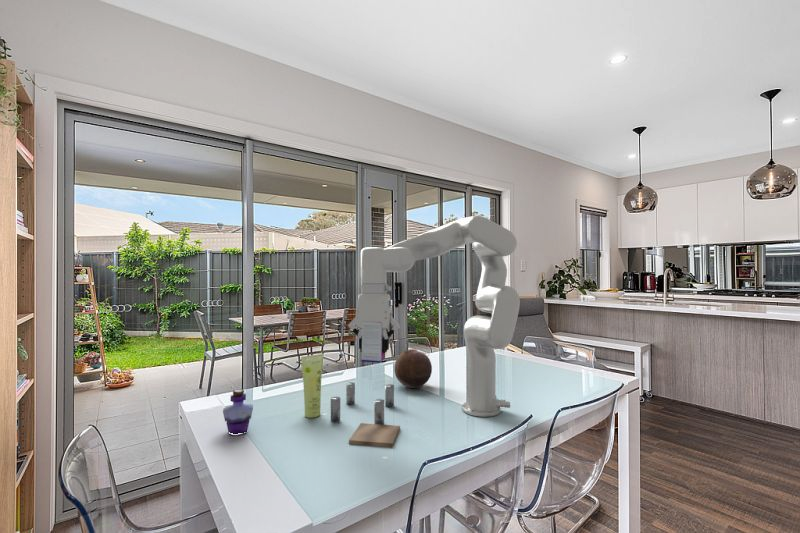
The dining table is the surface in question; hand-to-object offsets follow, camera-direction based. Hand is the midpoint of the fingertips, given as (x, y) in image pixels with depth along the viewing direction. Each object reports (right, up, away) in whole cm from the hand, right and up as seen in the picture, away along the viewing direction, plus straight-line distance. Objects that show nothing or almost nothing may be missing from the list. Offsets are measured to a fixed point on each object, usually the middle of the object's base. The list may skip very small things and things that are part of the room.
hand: (373, 351), depth 115 cm
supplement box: (0, -3, 0) cm, 3 cm away
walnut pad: (+1, -23, -3) cm, 24 cm away
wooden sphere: (+13, -24, +44) cm, 51 cm away
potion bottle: (-39, -24, 0) cm, 46 cm away
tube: (-21, -24, +13) cm, 34 cm away
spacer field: (-4, -24, +15) cm, 28 cm away
